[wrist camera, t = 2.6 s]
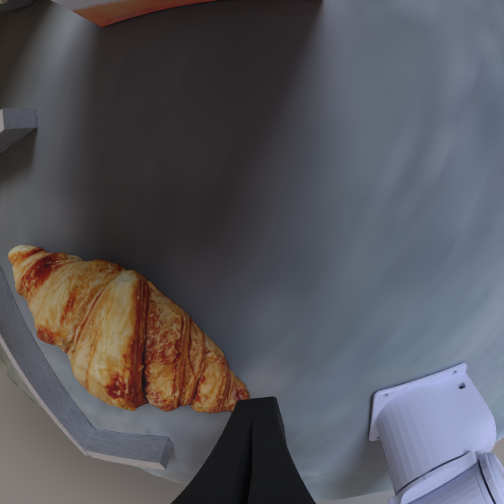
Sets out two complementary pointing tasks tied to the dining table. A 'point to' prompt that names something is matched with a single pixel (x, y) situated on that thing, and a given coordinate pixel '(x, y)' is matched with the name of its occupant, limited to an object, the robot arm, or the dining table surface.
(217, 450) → the robot arm
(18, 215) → the dining table surface
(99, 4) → the cracker box
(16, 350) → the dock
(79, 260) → the croissant
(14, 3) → the liquor
